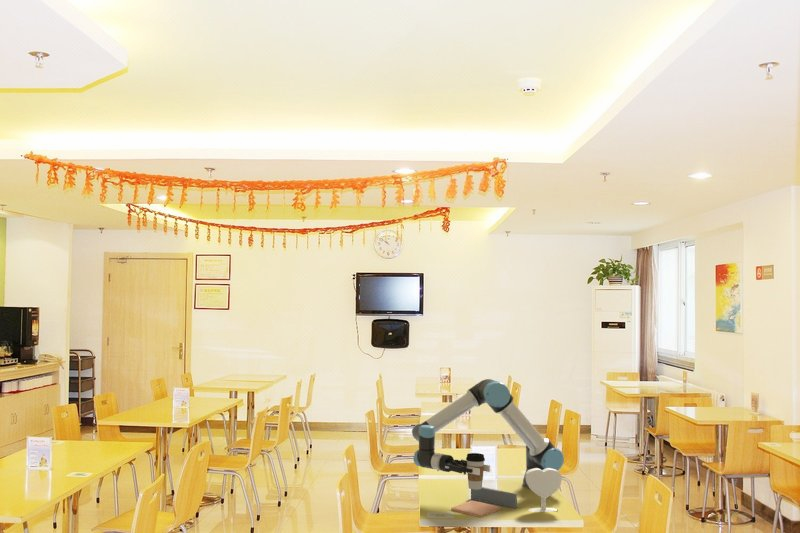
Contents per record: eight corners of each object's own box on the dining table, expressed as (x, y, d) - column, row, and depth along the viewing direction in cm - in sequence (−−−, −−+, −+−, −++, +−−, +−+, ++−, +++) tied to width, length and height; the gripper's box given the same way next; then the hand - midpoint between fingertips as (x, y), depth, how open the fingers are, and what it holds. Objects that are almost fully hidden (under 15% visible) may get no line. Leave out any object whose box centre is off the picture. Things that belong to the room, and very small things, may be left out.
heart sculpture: (559, 508, 305) (558, 467, 306) (562, 511, 300) (562, 470, 301) (525, 508, 304) (524, 467, 305) (527, 511, 299) (527, 470, 300)
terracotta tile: (471, 502, 314) (471, 500, 314) (501, 509, 303) (501, 506, 303) (451, 510, 301) (451, 507, 302) (481, 517, 291) (481, 515, 291)
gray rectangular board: (472, 497, 321) (472, 485, 322) (516, 507, 306) (516, 493, 306) (470, 498, 320) (470, 485, 321) (515, 508, 305) (515, 494, 305)
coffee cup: (469, 490, 298) (470, 456, 299) (463, 486, 306) (463, 452, 307) (487, 489, 300) (487, 455, 301) (480, 485, 308) (480, 451, 309)
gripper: (455, 467, 323) (497, 474, 308) (429, 474, 307) (471, 483, 292) (456, 451, 323) (497, 458, 308) (429, 457, 308) (471, 465, 293)
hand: (484, 470), depth 300 cm, fingers closed on coffee cup, 8 cm apart
